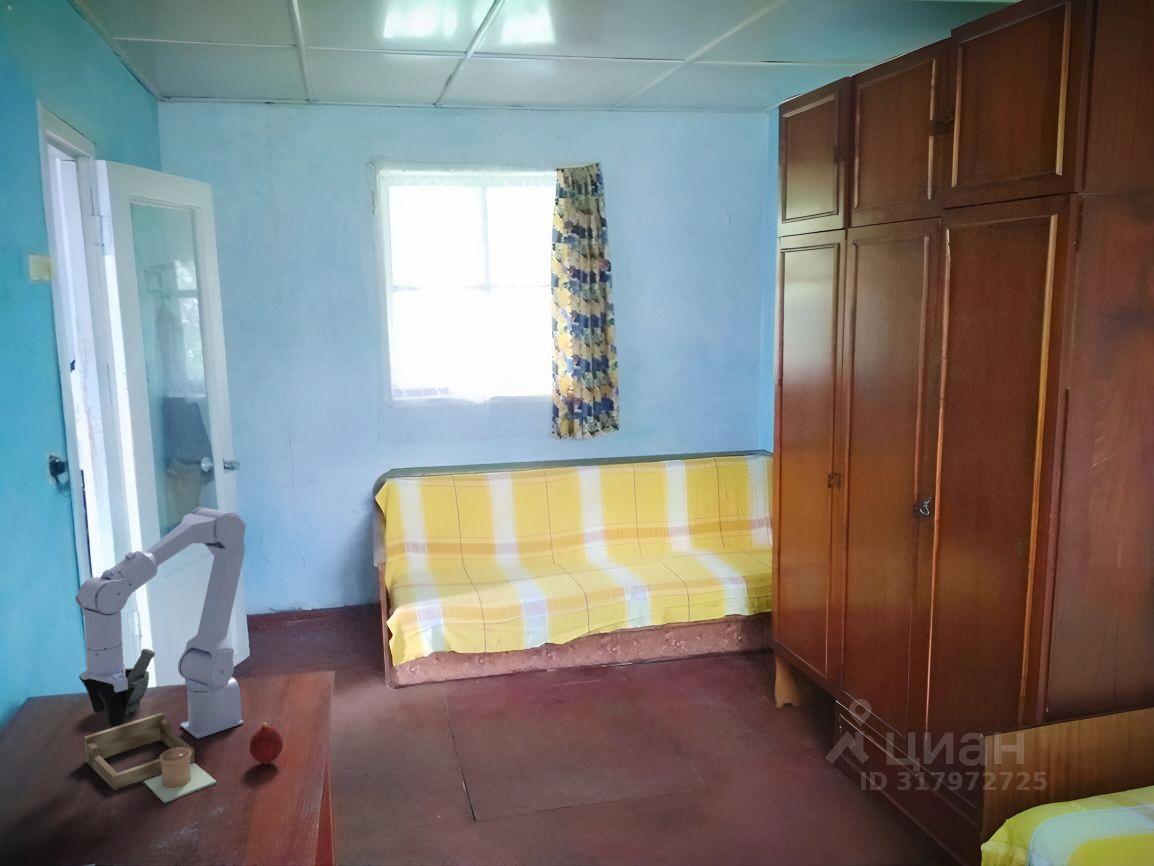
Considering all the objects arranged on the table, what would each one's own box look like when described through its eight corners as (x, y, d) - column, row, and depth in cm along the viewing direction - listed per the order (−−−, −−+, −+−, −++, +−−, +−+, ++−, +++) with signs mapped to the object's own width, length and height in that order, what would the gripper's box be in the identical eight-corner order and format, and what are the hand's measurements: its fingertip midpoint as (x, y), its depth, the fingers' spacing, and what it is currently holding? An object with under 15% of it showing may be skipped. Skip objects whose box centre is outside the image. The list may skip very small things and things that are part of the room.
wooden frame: (163, 736, 172) (162, 712, 172) (194, 761, 163) (193, 736, 162) (85, 762, 162) (84, 736, 161) (114, 790, 153) (112, 763, 152)
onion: (290, 760, 164) (288, 720, 163) (267, 774, 159) (266, 733, 158) (266, 753, 166) (265, 713, 165) (243, 767, 161) (241, 726, 160)
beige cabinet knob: (185, 770, 159) (184, 744, 158) (197, 781, 156) (196, 754, 155) (156, 780, 155) (154, 754, 155) (167, 791, 152) (166, 764, 151)
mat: (194, 764, 162) (194, 762, 162) (216, 783, 156) (216, 780, 156) (143, 783, 155) (143, 781, 155) (164, 802, 149) (164, 800, 149)
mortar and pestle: (102, 723, 177) (99, 666, 176) (94, 706, 185) (91, 651, 183) (162, 709, 184) (160, 654, 183) (152, 693, 192) (149, 640, 190)
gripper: (65, 639, 158) (70, 711, 159) (94, 662, 148) (99, 738, 150) (107, 630, 163) (111, 699, 165) (138, 651, 153) (142, 725, 155)
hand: (108, 717), depth 157 cm, fingers open, 7 cm apart
